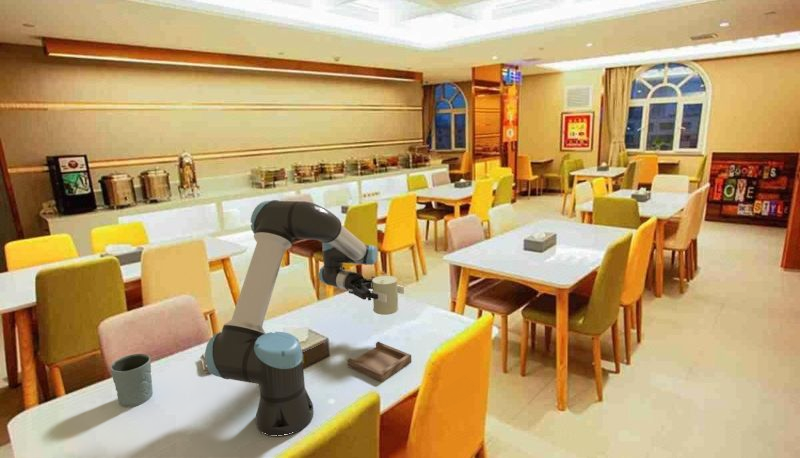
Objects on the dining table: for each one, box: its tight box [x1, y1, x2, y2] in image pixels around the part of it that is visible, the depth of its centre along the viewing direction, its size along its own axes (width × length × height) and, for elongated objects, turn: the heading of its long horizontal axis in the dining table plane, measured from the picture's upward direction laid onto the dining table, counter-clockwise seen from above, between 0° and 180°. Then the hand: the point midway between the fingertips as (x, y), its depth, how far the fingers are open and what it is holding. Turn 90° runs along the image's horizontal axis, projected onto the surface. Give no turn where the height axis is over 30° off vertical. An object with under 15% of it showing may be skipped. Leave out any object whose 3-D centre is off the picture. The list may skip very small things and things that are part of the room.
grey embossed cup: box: [109, 353, 154, 408], centre depth 128 cm, size 10×10×12 cm
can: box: [371, 275, 399, 316], centre depth 156 cm, size 9×9×12 cm
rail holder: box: [346, 341, 412, 383], centre depth 143 cm, size 15×15×2 cm
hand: (394, 294), depth 153 cm, fingers closed on can, 9 cm apart
